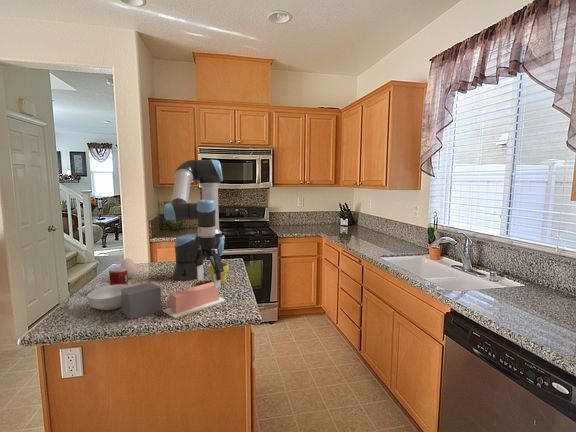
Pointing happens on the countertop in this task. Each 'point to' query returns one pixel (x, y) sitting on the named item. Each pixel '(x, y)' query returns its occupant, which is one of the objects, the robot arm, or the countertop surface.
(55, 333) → the countertop surface
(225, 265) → the plant pot
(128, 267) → the egg
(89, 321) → the countertop surface
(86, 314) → the countertop surface
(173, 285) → the countertop surface
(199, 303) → the long pink block
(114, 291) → the cereal bowl
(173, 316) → the pale green flat board
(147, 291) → the grey block
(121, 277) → the canned food
